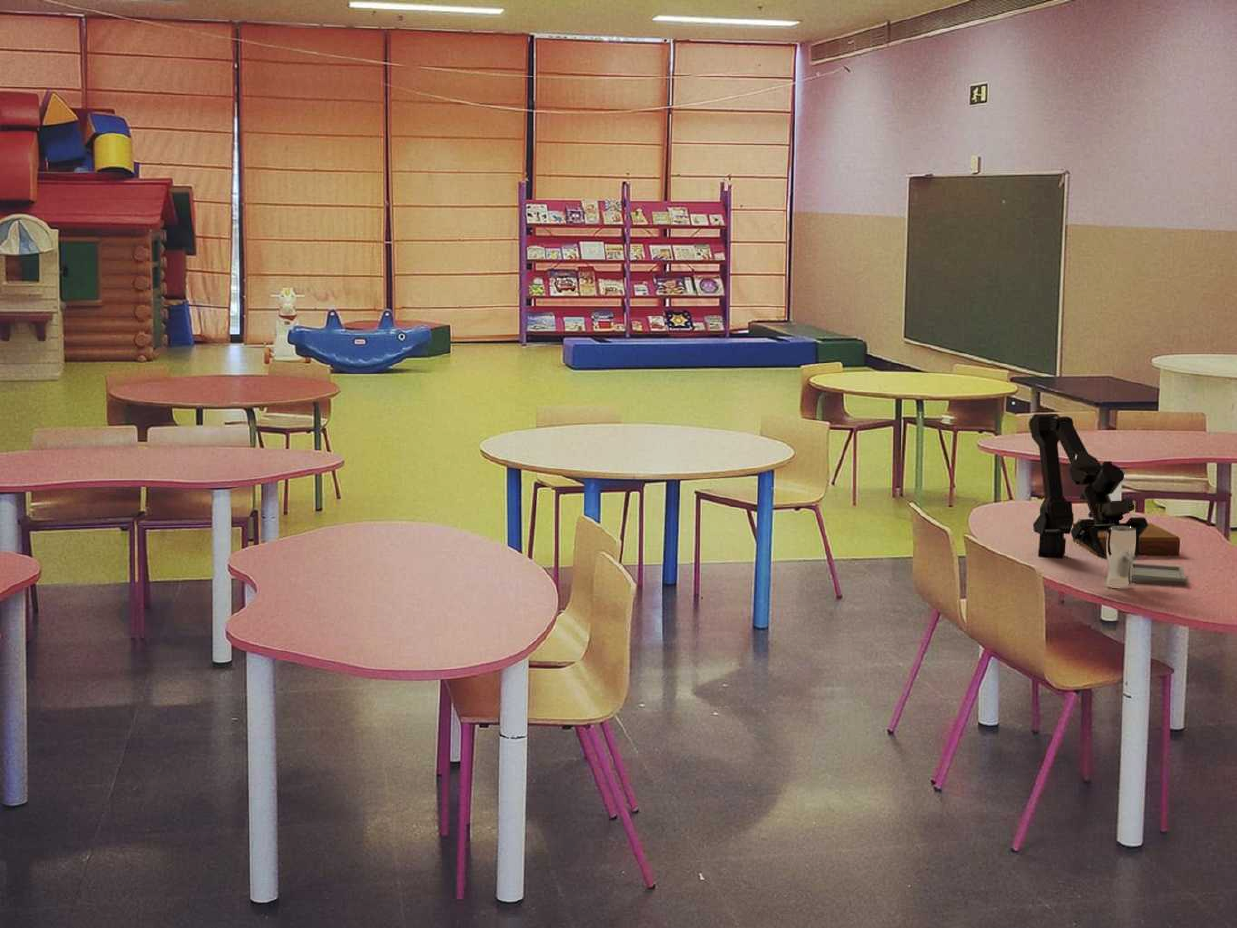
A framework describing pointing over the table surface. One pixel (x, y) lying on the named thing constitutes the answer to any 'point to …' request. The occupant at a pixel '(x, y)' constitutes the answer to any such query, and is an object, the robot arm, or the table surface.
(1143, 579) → the grey tray
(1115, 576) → the beer glass
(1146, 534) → the diary
